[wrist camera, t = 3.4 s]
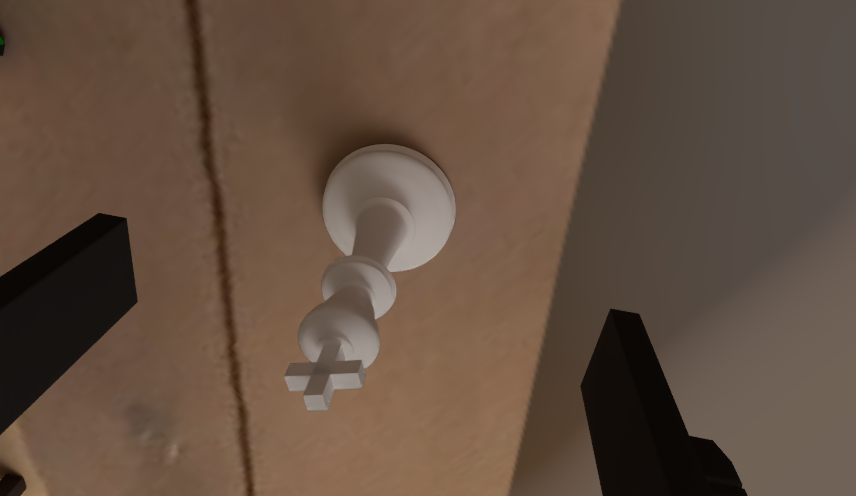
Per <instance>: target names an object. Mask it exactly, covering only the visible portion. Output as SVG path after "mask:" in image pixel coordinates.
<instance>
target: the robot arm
mask: <svg viewBox="0 0 856 496" xmlns="http://www.w3.org/2000/svg"><path fill="white" fill-rule="evenodd" d="M137 302H138V301H137V293H136V286H135V278H134V271H133V263H132V256H131V249H130V241H129V234H128V226H127V219H126V218H123V217H118V216H112V215H107V214H102V213H98V214H96V215H95V216H93V217H92V218H90V219H89V220H87V221H86V222H84V223H83V224H81V225H79V226H78V227H76V228H75V229H73V230H72V231H70V232H69V233H67V234H66V235H64V236H62V237H61V238H59V239H58V240H56V241H55V242H53V243H52V244H50V245H49V246H47V247H46V248H44V249H42V250H41V251H39V252H38V253H36V254H35V255H33V256H32V257H30V258H29V259H27V260H25V261H24V262H22V263H21V264H19V265H18V266H16V267H15V268H13V269H12V270H10V271H9V272H7V273H5V274H4V275H2V276H1V277H0V435H1V434H2V433H3V432H4V431H5V430H6V429H7V428H8V427H9V426H10V425H11V424H12V423H13V422H14V421H15V420H16V419H17V418H18V417H19V416H20V415H21V414H22V413H23V412H24V411H26V410H27V409H28V408H29V407H30V406H31V405H32V404H33V403H34V402H35V401H36V400H37V399H38V398H39V397H40V396H41V395H42V394H43V393H44V392H45V391H46V390H47V389H48V388H49V387H50V386H51V385H52V384H53V383H54V382H55V381H56V380H57V379H59V378H60V377H61V376H62V375H63V374H64V373H65V372H66V371H67V370H68V369H69V368H70V367H71V366H72V365H73V364H74V363H75V362H76V361H77V360H78V359H79V358H80V357H81V356H82V355H83V354H84V353H85V352H86V351H87V350H88V349H89V348H91V347H92V346H93V345H94V344H95V343H96V342H97V341H98V340H99V339H100V338H101V337H102V336H103V335H104V334H105V333H106V332H107V331H108V330H109V329H110V328H111V327H112V326H113V325H114V324H115V323H116V322H117V321H118V320H119V319H120V318H121V317H123V316H124V315H125V314H126V313H127V312H128V311H129V310H130V309H131V308H132V307H133V306H134V305H135V304H136V303H137ZM581 391H582V396H583V401H584V406H585V411H586V416H587V421H588V425H589V430H590V435H591V440H592V445H593V450H594V455H595V459H596V464H597V470H598V474H599V479H600V485H601V490H602V494H603V496H747V493H746V491H745V489H742V483H741V481H740V479H739V476H738V474H737V472H736V470H735V468H734V466H733V464H732V462H731V461H730V460H729V459H728V457H727V456H726V455H725V454H724V453H723V451H722V450H721V449H720V448H719V447H718V446H717V445H716V443H714V441H713V440H708V439H703V438H698V437H693V436H689V435H688V432H687V430H686V428H685V425H684V422H683V420H682V417H681V415H680V412H679V410H678V408H677V405H676V403H675V400H674V398H673V395H672V393H671V391H670V388H669V386H668V383H667V381H666V378H665V376H664V373H663V371H662V368H661V366H660V364H659V361H658V359H657V356H656V354H655V352H654V349H653V346H652V344H651V342H650V339H649V337H648V334H647V332H646V330H645V327H644V324H643V322H642V320H641V317H640V315H639V314H637V313H631V312H626V311H620V310H615V309H610V311H609V314H608V316H607V319H606V321H605V324H604V326H603V329H602V332H601V334H600V337H599V339H598V342H597V345H596V347H595V350H594V353H593V355H592V357H591V360H590V363H589V365H588V368H587V370H586V373H585V376H584V378H583V381H582V383H581Z"/></svg>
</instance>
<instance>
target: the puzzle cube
mask: <svg viewBox="0 0 856 496" xmlns="http://www.w3.org/2000/svg"><path fill="white" fill-rule="evenodd" d="M4 47H5V43H4V41H3V40H2V38H1V36H0V57H1V56H3V53H4Z"/></svg>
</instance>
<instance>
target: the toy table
mask: <svg viewBox="0 0 856 496" xmlns="http://www.w3.org/2000/svg"><path fill="white" fill-rule="evenodd" d="M25 490H26V486H25V483H24V480H23V478H22V477H16V476H11V475H5V476H4V477H3V478H2V479H1V480H0V496H21V494H22V493H23V492H24V491H25Z"/></svg>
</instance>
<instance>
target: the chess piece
mask: <svg viewBox="0 0 856 496" xmlns="http://www.w3.org/2000/svg"><path fill="white" fill-rule="evenodd" d="M322 212H323V219H324V223H325V226H326V228H327V231H328V233H329V235H330V237H331V238H332V240H333V241H334V243H335V244H336V245H337V246H338V248H339V249H340V250H341V251H342V252H343V253H344V254H346V255H347V256H343V257H340V258H338V259H336V260H335V261H333V262H332V263H331V264H330V265H329V266H328V267H327V268H326V270H325V271H324V274H323V277H322V294H323V297H324V300H325V302H324V303H322V304H320V305H318V306H317V307H315V308H314V309H313V310H312V311H310V312H309V313H308V314H307V315H306V316H305V318H304V319H303V321H302V322H301V324H300V327H299V331H298V341H299V345H300V347H301V350H302V351H303V353H304V355H305V356H306V357H307V358H308V359H309V360H310V361H311V362H308V363H290V365H289V368H288V370H287V372H286V374H285V376H284V377H285V380H286V383H287V386H288V389H289V391H304V394H303V398H304V401H305V404H306V407H307V410H308V411H318V410H328V407H329V404H330V401H331V398H332V395H333V392H334V390H335V389H353V388H362V386H363V382H364V379H365V375H366V374H365V370H364V369H365V368H367V367H368V366H369V365H370V364H371V363H372V362H373V361H374V360H375V358H376V357H377V354H378V352H379V347H380V338H379V331H378V327H377V324H376V321H375V319H378V318H379V317H381V316H382V315H384V314H385V313H386V312H387V311H388V310H389V309H390V308H391V306H392V305H393V303H394V301H395V298H396V284H395V281H394V278H393V276H392V275H391V273H390V272H398V271H405V270H410V269H413V268H416V267H419V266H421V265H423V264H425V263H426V262H428V261H429V260H431V259H432V258H433V257H435V256H436V255H437V254H438V253H439V252H440V250H441V249H442V248H443V246H444V245H445V243H446V242H447V240H448V237H449V235H450V233H451V231H452V229H453V226H454V222H455V216H456V203H455V197H454V193H453V190H452V187H451V185H450V183H449V181H448V179H447V178H446V176H445V175H444V173H443V172H442V171H441V169H440V168H439V167H438V166H437V165H436V164H435V163H434V162H433V161H431V160H430V159H429V158H427V157H426V156H424V155H423V154H421V153H419V152H417V151H415V150H413V149H410V148H407V147H404V146H400V145H394V144H376V145H370V146H366V147H363V148H360V149H358V150H356V151H354V152H352V153H350V154H349V155H347V156H346V157H345V158H344V159H342V160H341V161H340V162H339V163H338V165H337V166H336V167H335V168H334V170H333V171H332V173H331V175H330V177H329V179H328V181H327V184H326V188H325V191H324V195H323V201H322Z"/></svg>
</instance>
